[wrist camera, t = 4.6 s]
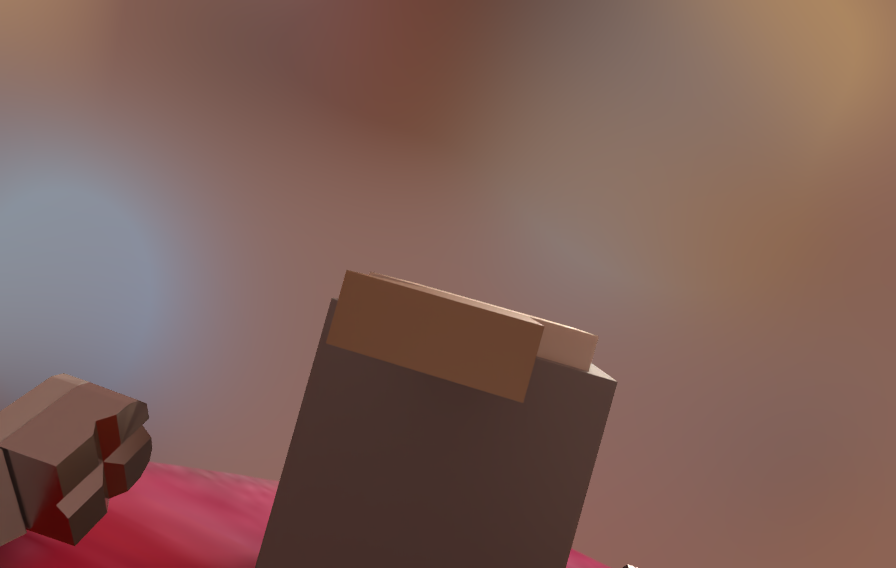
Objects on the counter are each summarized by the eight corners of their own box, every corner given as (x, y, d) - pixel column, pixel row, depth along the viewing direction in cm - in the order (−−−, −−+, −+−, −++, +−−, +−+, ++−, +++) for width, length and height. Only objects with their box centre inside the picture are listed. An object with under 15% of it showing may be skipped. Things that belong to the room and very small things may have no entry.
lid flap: (188, 301, 11) (209, 230, 12) (410, 305, 36) (417, 283, 36) (683, 451, 10) (705, 371, 10) (563, 350, 35) (569, 326, 35)
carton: (159, 905, 23) (331, 298, 24) (302, 663, 39) (404, 302, 39) (436, 1030, 22) (617, 381, 22) (468, 726, 38) (574, 350, 38)
